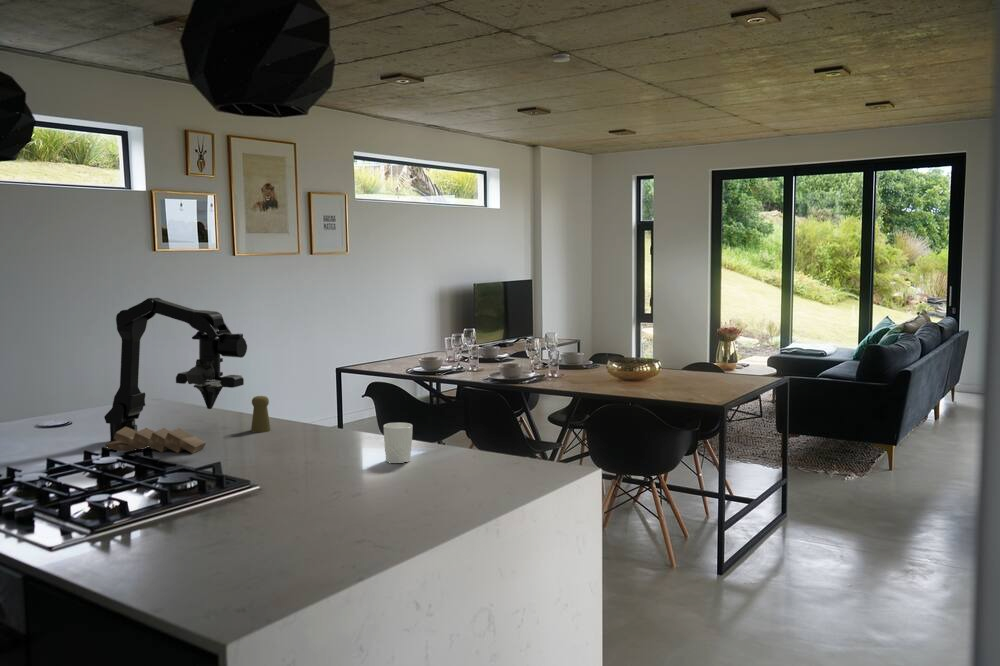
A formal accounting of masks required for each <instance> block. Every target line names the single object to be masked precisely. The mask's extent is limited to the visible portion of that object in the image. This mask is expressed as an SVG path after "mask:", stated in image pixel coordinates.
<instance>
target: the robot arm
mask: <svg viewBox="0 0 1000 666" xmlns="http://www.w3.org/2000/svg"><path fill="white" fill-rule="evenodd" d="M157 314H158V315H161V316H165V317H166V318H171V319H173V320H177V321H179V322H184V323H186V324H188V325H189V326H190V327H191V328H193V329H195V330H197V332H196V334H193V336H191V339H192V340H198V350H199V351H198V355H199V356H198V359H196V361H195V365H194V366H193V367H192V368H190V369H189V370H188V371H183V372H179V373H177V375H176V376H175V383H176V384H182V385H185V384H188V385H193V388H196V389H197V390H198V391H199V392H200V393H201V396H202V398H203V400H204V403H205V406H206V409H207V410H212V409H213V406H214V405H215V403H216V400H217V398H218V396H219V394H220V393H221V391H222V389H223V388H232V389H233V388H234V389H235V388H238V387H241V386H244V385H245V384H244V383H245V382H244V378H243V376H242V375H238V374H229V375H224V374H223V373H224V372H223V371H221V363H223V362H224V358H222V357H225V358H226V357H227V358H228V357H229V358H241V359H242V358H244V357H245V356H246V354H247V351H248V344H247V341H246V339H245V338H244V334H243V333H232V332H231V330H230V328H229V327H228V326H227V324H226V322H225V321H224V318H223V315H222V313H220V312H218V311H214V310H202V309H199V310H198V309H194V308H191V307H187V306H183V305H181V304H178V303H175V302H171V301H168V300H165V299H162V298H160V297H149V298H148V297H147V298H146V299H145V300H143V301H141V302H140V303H137V304H136V305H133V306H131V307H129V308H128V309H122V310H120V311H119V312H118V313H117V314H116V317H115V323H116V331H117V333H118V334H119V336H120V338H121V349H120V350H121V351H120V354H121V355H120V372H119V387H118V390H117V391H116V393H115V395H114V397H113V401H112V406H111V407H112V408H110V410H109V411H108V412H107V413H106V414H105V415H104V418H103V419H104V420H105V423H106V424H109V430H110V431H109V435H110V436H109V437H110V439H109V441H108V442H107V443H110V442H113V441H116V440H115V439H114V436H115V433H116V432H117V431H119V430H121V429H122V428H124V427H125V426H126V427H128V428H131V429H133V430H136V431H138V424H136V420H137V419H139V417H140V414H141V413H142V411H143V410H144V407H145V406H146V403H145V401H146V399H145V398H146V392H142V391H141V390H140V388H139V374H140V373H139V372H140V371H139V370H140V369H139V368H140V354H141V353H140V349H141V339H142V337H143V336H144V333H145V332H146V329H147V325H148V321H149V320H151V319H153V318H154V317H155V316H156V315H157ZM221 356H222V357H221ZM223 375H224V376H223Z"/></svg>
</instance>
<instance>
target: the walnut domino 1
mask: <svg viewBox="0 0 1000 666" xmlns="http://www.w3.org/2000/svg"><path fill="white" fill-rule="evenodd" d="M106 447H108V448H111V449H115V450H114V451H128V450H135V449H138V448H135V447H133V446H130V445H128V444H125V443H123V442H120V441H118V440H116V441H113V442H110V443H108V442H107V443H105V448H106ZM138 450H139V449H138ZM135 451H136V450H135Z"/></svg>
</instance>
